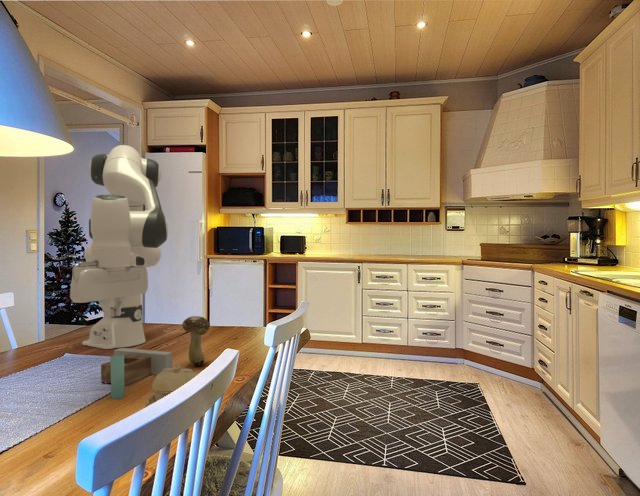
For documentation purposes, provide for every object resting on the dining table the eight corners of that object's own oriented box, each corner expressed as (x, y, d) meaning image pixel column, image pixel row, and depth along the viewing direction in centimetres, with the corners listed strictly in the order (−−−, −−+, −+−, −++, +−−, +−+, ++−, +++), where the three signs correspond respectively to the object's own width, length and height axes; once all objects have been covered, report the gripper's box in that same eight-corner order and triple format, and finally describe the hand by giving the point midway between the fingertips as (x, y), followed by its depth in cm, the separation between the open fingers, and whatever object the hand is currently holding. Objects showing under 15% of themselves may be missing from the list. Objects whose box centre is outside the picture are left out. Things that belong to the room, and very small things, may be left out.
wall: (114, 370, 124) (114, 350, 124) (121, 367, 127) (121, 347, 126) (165, 375, 119) (165, 354, 118) (172, 372, 121) (172, 352, 121)
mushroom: (188, 361, 133) (187, 314, 133) (215, 361, 133) (214, 314, 132) (177, 370, 124) (176, 320, 123) (206, 370, 123) (205, 320, 123)
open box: (101, 382, 113) (100, 364, 113) (128, 371, 122) (127, 354, 122) (125, 385, 110) (125, 367, 110) (150, 374, 120) (150, 356, 120)
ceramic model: (215, 400, 100) (214, 359, 100) (195, 420, 89) (195, 374, 89) (160, 398, 102) (159, 357, 102) (134, 417, 91) (133, 372, 91)
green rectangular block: (108, 398, 102) (107, 358, 101) (117, 394, 104) (117, 354, 104) (118, 400, 101) (117, 359, 100) (127, 395, 104) (126, 355, 103)
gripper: (83, 261, 91) (84, 325, 91) (151, 258, 110) (152, 311, 110) (62, 261, 93) (63, 323, 93) (133, 258, 112) (134, 310, 112)
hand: (112, 316), depth 102 cm, fingers closed
